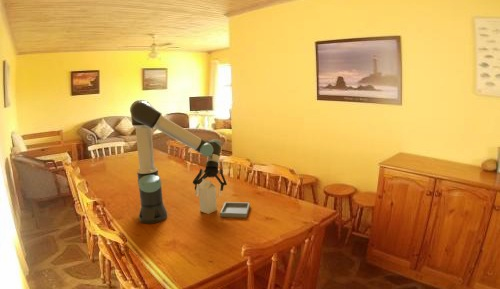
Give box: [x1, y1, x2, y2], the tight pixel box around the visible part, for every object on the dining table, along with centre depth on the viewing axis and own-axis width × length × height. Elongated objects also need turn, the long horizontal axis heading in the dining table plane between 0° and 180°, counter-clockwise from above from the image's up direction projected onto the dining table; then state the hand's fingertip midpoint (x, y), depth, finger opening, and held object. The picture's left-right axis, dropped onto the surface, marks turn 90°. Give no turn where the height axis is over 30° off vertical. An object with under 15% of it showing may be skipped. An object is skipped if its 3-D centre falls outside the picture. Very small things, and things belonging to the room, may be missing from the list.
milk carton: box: [198, 178, 218, 215], centre depth 175 cm, size 7×7×19 cm
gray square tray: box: [219, 201, 251, 219], centre depth 175 cm, size 15×15×2 cm
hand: (207, 195), depth 174 cm, fingers open, 13 cm apart
